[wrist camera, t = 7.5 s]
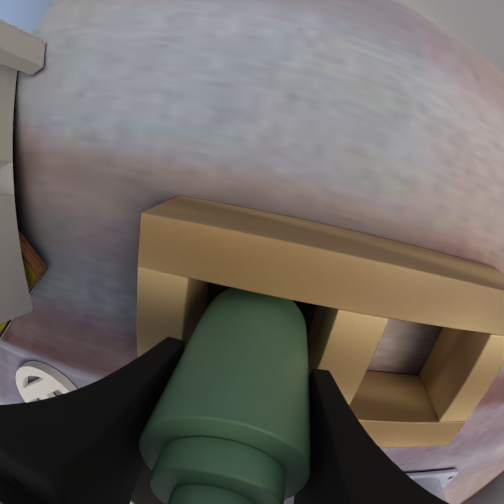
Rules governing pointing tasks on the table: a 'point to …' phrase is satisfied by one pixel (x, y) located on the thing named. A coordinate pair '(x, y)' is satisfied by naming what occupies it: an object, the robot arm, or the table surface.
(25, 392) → the pendant
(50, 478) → the robot arm
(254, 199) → the table surface
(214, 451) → the bottle
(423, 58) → the table surface
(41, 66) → the skate ramp
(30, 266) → the harmonica
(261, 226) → the hole block
